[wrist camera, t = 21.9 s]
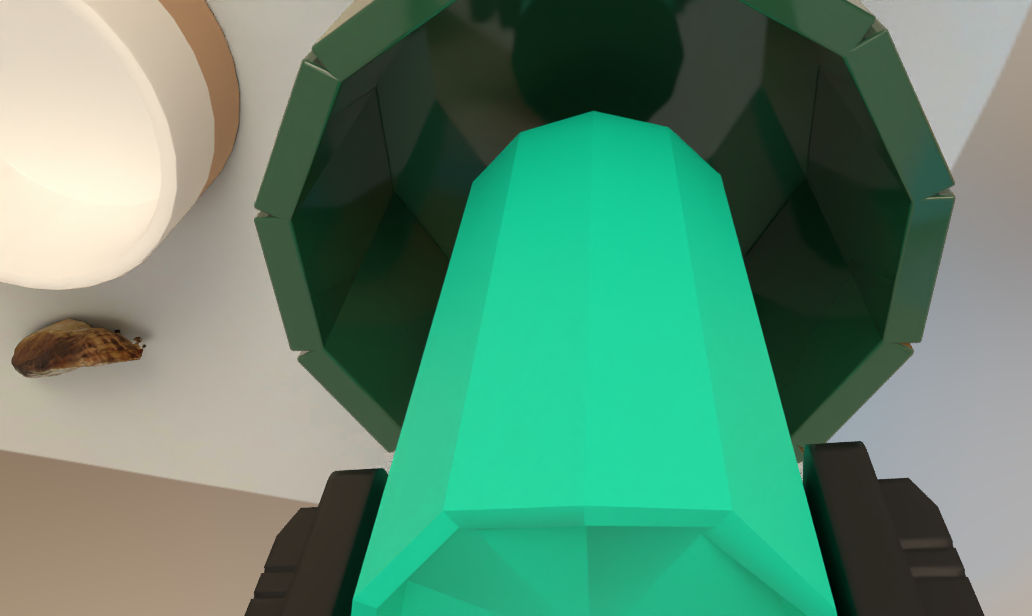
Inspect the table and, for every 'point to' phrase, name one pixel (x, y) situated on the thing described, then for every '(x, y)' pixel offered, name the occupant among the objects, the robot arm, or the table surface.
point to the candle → (595, 403)
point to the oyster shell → (72, 349)
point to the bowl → (106, 132)
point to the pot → (630, 94)
